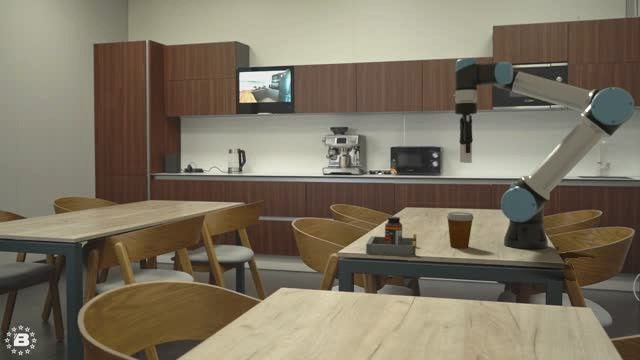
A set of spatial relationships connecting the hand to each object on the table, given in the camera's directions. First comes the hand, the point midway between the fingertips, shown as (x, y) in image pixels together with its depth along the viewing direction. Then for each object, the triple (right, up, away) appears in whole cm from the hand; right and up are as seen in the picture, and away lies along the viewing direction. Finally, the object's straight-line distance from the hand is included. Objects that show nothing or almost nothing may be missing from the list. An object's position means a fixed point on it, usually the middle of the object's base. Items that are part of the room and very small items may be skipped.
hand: (465, 162), depth 210 cm
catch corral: (-27, -30, -7) cm, 41 cm away
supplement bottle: (-27, -31, -7) cm, 41 cm away
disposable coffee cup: (-2, -30, +1) cm, 30 cm away
